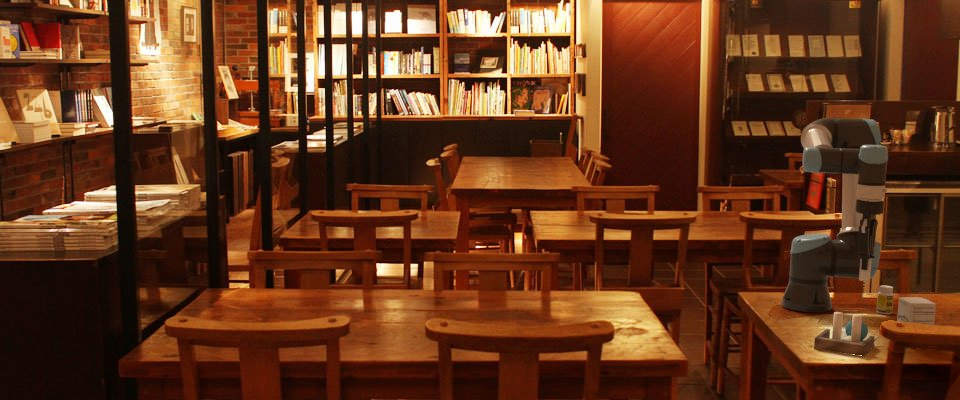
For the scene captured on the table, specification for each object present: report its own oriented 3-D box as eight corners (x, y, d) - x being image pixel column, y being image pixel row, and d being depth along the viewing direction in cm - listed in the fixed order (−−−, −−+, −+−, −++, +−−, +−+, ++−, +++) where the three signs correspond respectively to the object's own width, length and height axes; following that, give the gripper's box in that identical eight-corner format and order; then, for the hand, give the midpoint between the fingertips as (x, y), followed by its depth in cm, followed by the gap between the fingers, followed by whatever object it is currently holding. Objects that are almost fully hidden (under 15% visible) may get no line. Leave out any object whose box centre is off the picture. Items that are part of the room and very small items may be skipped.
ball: (848, 313, 291) (848, 325, 296) (842, 329, 288) (842, 341, 293) (870, 318, 288) (870, 330, 293) (864, 335, 285) (864, 347, 290)
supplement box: (894, 340, 292) (897, 296, 290) (919, 340, 293) (923, 296, 291) (907, 347, 285) (911, 303, 283) (933, 347, 285) (936, 303, 284)
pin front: (844, 341, 288) (834, 348, 281) (847, 334, 288) (837, 340, 280) (852, 345, 287) (843, 352, 280) (855, 337, 287) (846, 344, 279)
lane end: (814, 348, 282) (814, 337, 282) (825, 339, 292) (826, 328, 292) (863, 356, 275) (864, 345, 275) (873, 346, 285) (874, 336, 285)
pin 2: (849, 348, 283) (851, 316, 282) (851, 346, 285) (853, 314, 284) (858, 349, 282) (860, 317, 281) (860, 347, 284) (862, 315, 283)
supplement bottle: (887, 315, 322) (889, 288, 321) (873, 312, 325) (875, 286, 324) (895, 313, 325) (897, 287, 324) (881, 310, 328) (883, 284, 327)
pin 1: (830, 345, 286) (832, 313, 285) (833, 343, 288) (835, 311, 287) (839, 346, 285) (841, 314, 283) (841, 344, 287) (844, 312, 285)
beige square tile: (833, 338, 293) (833, 337, 293) (842, 331, 301) (842, 330, 301) (869, 344, 287) (869, 343, 287) (877, 336, 296) (878, 336, 296)
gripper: (878, 203, 287) (872, 286, 290) (889, 198, 298) (883, 278, 301) (851, 200, 291) (845, 282, 294) (862, 195, 302) (856, 275, 305)
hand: (864, 280), depth 298 cm, fingers closed
